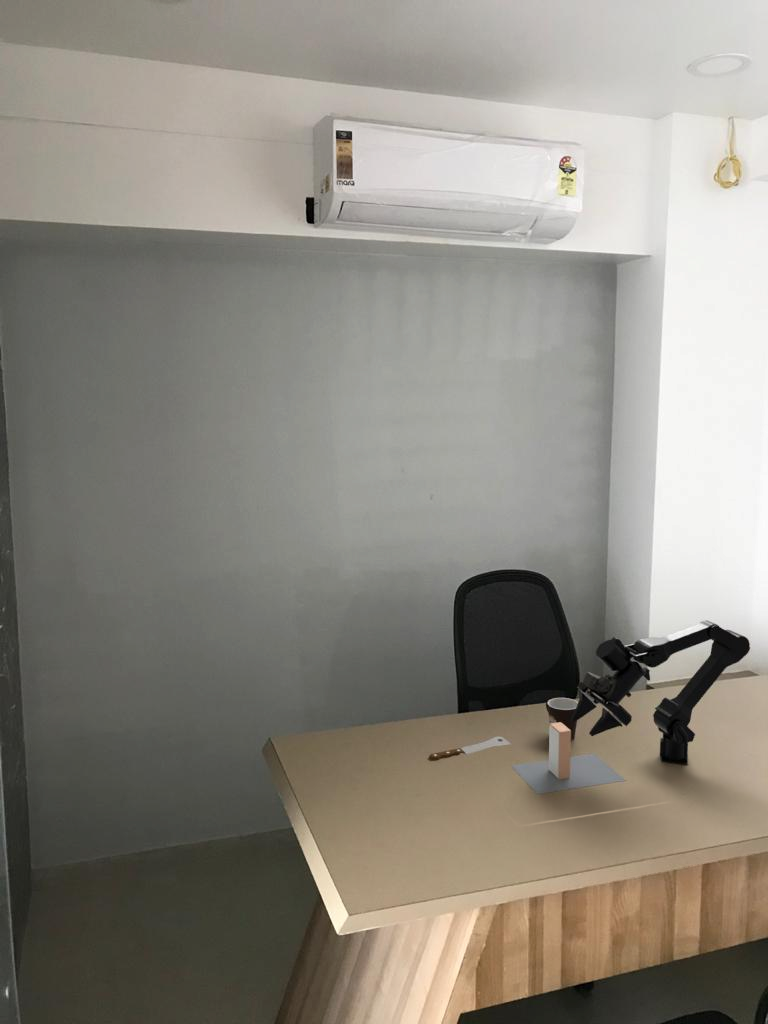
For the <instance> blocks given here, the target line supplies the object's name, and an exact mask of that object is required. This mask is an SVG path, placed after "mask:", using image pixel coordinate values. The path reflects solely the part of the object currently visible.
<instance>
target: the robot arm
mask: <svg viewBox="0 0 768 1024" xmlns="http://www.w3.org/2000/svg"><path fill="white" fill-rule="evenodd" d="M711 640H712V641H713V642H712V644H711V649H710V655H709V656H708V658H706V660H704V663H703V664H702V665H701V666H700V667H699V669H697V671H696V672H695V673H694V675H693V676H692V677H691V678H690V679H689V681H687V683H686V684H685V686H684V687H683V688H682V689H681V691H680V692H679V693H678V694H677V695H676V696H675V697H673V698H671V699H669V698H668V697H664V698H663V699H662V700H661V701H660V703H659V704H657V705H658V706H656V707H655V708H654V710H655V711H654V713H653V715H652V717H653V723H654V725H655V726H656V727H657V729H658V731H659V732H660V733H662V737H660V739H659V741H660V742H659V756H660V757H661V758H660V759H661V762H662V763H663V762H664V763H671V764H678V765H686V766H687V765H688V763H689V759H688V757H689V754H688V753H689V749H688V748H689V743H692V742H693V741H694V739H695V736H696V734H695V732H694V731H693V730H692V729H691V728H689V724H690V722H691V719H692V713H693V710H694V709H695V707H696V706H697V704H698V703H699V702H700V701H701V699H702V698H703V697H704V696H705V695H706V693H707V692H708V691H709V690H710V688H711V687H712V686H713V685H714V683H716V681H717V680H718V679H719V677H720V676H721V675H722V674H723V672H724V671H725V670H726V669H727V668H728V667H730V666H732V665H735V664H737V663H740V661H742V659H743V658H745V657H746V656H747V655H748V654H749V652H750V650H751V647H750V640H749V639H748V638H747V637H746V636H744V635H742V634H740V633H738V632H735V631H734V630H730V629H724V628H722V627H721V626H720V625H718V624H716V623H714V622H712V621H710V620H702V621H700V623H698V624H695V625H692V626H690V627H689V626H688V627H686V628H684V629H681V630H679V631H676V632H673V633H671V634H668V635H665V636H661V637H658V636H657V637H656V636H655V637H646V638H640V639H638V640H636V641H635V642H633V643H632V644H628V645H627V644H626V645H625V644H623V642H622V641H621V639H619V638H617V637H616V636H613V637H612V639H608V640H605V641H603V642H601V643H600V644H599V645H598V647H597V648H596V650H595V655H596V656H597V658H598V659H599V660H600V661H602V663H603V664H604V665H605V666H606V667H607V668H609V670H610V671H613V673H612V675H609V674H607V675H605V676H599V675H597V674H594V673H591V672H590V671H586V673H585V675H584V677H583V678H582V680H581V681H580V682H579V683H578V685H577V686H576V688H577V693H578V699H579V700H578V701H577V702H578V705H577V707H576V709H575V712H574V714H573V717H572V720H573V721H574V722H575V721H577V722H578V721H579V720H580V719H582V718H583V717H584V716H586V715H587V714H590V712H591V711H593V710H594V709H596V708H597V705H598V704H600V705H601V706H603V707H602V710H601V716H600V718H598V720H597V721H596V722H595V724H594V725H593V727H592V728H591V729H590V731H589V733H588V734H589V736H591V737H593V736H596V735H598V734H600V733H604V732H606V731H609V730H611V729H612V730H613V729H615V728H618V727H621V728H622V727H623V726H625V727H628V726H629V724H630V723H631V722H632V717H633V715H631V714H630V712H628V711H627V709H625V708H624V706H623V705H621V704H620V703H621V702H622V701H623V700H624V698H625V697H628V698H630V697H631V696H632V693H631V690H632V689H633V688H634V687H635V686H636V684H638V682H640V680H641V679H642V678H643V679H644V680H646V681H651V674H650V669H649V668H651V669H652V668H653V669H654V668H656V667H659V666H661V665H662V664H664V663H666V662H667V661H668V660H669V659H670V657H671V656H672V655H674V654H677V653H679V652H682V651H683V650H687V649H689V648H692V647H694V646H698V645H700V644H702V643H705V642H709V641H711ZM631 659H632V660H634V661H632V660H631ZM641 664H644V665H645V666H646V667H645V666H644V667H643V666H642V665H641ZM605 708H606V709H605Z"/></svg>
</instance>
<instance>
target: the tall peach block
mask: <svg viewBox="0 0 768 1024" xmlns="http://www.w3.org/2000/svg"><path fill="white" fill-rule="evenodd" d="M548 737H549V738H548V739H549V740H548V741H549V742H548V760H549V770H550V771H551V772H552V773H553V774H554V775H555V776H556V777H557V778H558V779H566V778H570V757H571V752H572V751H571V747H572V746H571V745H572V741H571V730H570V729H568V728H567V727H566V726H565V725H564V724H562V723H561V722H558V723H550V722H549V735H548Z"/></svg>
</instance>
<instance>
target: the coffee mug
mask: <svg viewBox="0 0 768 1024" xmlns="http://www.w3.org/2000/svg"><path fill="white" fill-rule="evenodd" d="M578 702H579V701H577V700H575V699H572V698H568V697H567V698H566V697H553V698H551V699H548V700H546V703H545V708H546V711H547V713H548V721H549V724H550V723H558V722H561V723H562V724H564V725H565V726H566V727H567V728H568V729H570V730H571V742H572V741H574V740H575V739H576V738H575V737H576V730H577V723H578V720H577V721H575V722H574V721H573V720H572V717H573V714H574V712H575V709H576V707H577V705H578Z"/></svg>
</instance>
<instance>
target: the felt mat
mask: <svg viewBox="0 0 768 1024" xmlns="http://www.w3.org/2000/svg"><path fill="white" fill-rule="evenodd" d="M510 767H511V768H512V769H513V770H514V771H515V772H516V773H517V774H518V775H519V776H520V777H521V778H522V779H523V781H524V782H526V784H527V785H528V786H529V787H530V788H531V789H532V790H533V792H535V793H536V794H537V795H541V794H546V793H555V792H560V791H567V790H572V789H573V790H575V789H580V788H581V789H582V788H588V787H592V786H600V785H606V784H612V783H613V784H614V783H619V782H625V781H627V780H626V779H625V778H624V776H621V775H620V774H619V773H618V772H617V771H616V770H614V769H613V768H612V767H611V766H610V765H609V764H608V763H606V762H605V761H603V760H602V759H601V758H600V757H599V756H598V755H597V754H596V753H589V754H583V755H582V754H581V755H575V756H570V778H566V779H558V778H557V777H556V776H555V775H554V774H553V773H552V772H551V771H550V770H549V759H547V760H546V759H545V760H538V761H532V762H525V763H518V764H511V765H510Z"/></svg>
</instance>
